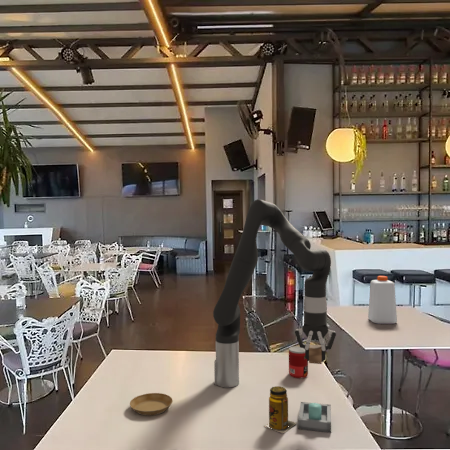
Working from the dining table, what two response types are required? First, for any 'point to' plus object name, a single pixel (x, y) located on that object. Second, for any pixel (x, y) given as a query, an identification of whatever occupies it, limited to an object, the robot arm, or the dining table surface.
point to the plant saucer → (151, 403)
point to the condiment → (279, 410)
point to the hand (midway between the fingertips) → (315, 360)
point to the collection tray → (313, 424)
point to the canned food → (297, 362)
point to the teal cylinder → (315, 411)
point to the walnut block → (315, 354)
